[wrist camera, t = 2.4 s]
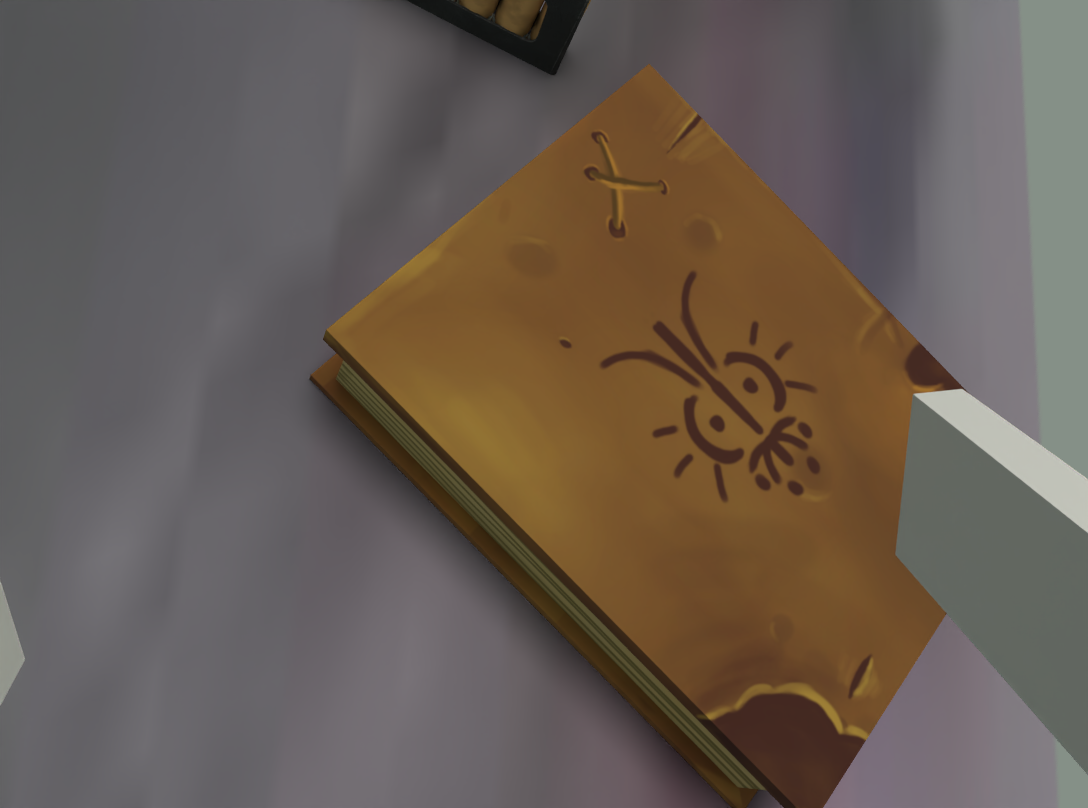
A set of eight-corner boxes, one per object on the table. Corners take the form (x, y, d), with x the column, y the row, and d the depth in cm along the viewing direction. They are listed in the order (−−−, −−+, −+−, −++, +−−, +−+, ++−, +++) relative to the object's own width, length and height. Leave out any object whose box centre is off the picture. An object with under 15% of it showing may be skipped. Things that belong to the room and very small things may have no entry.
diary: (951, 484, 46) (1048, 454, 41) (727, 810, 38) (813, 824, 33) (608, 127, 46) (663, 51, 40) (307, 381, 38) (327, 327, 32)
